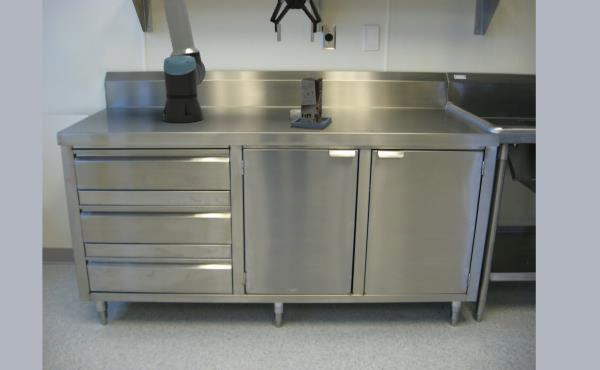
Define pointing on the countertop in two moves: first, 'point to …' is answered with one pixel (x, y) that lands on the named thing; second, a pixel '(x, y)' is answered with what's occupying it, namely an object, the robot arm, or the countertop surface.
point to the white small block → (295, 113)
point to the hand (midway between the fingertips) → (295, 41)
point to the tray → (321, 125)
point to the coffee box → (311, 100)
